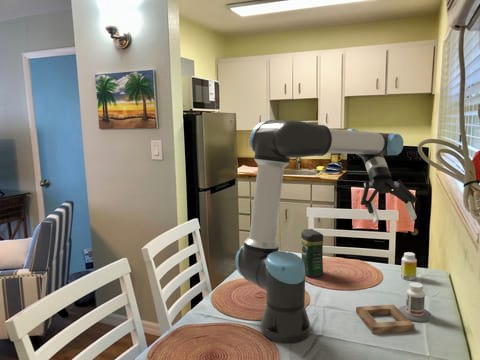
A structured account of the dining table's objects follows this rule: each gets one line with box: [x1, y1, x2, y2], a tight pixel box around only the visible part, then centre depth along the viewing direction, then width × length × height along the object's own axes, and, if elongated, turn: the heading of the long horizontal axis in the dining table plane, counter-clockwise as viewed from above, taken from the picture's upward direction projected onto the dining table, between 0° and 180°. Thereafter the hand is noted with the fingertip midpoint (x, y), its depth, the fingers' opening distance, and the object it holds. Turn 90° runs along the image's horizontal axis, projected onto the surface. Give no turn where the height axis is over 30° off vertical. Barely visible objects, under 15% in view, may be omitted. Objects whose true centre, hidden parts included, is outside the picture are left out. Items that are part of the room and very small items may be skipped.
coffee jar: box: [300, 228, 324, 278], centre depth 161 cm, size 10×8×19 cm
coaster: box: [398, 305, 432, 323], centre depth 127 cm, size 10×10×1 cm
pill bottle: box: [405, 281, 426, 316], centre depth 126 cm, size 5×5×10 cm
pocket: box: [355, 304, 415, 334], centre depth 123 cm, size 13×13×2 cm
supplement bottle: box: [400, 251, 418, 281], centre depth 155 cm, size 6×6×10 cm
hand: (395, 220), depth 134 cm, fingers open, 13 cm apart
